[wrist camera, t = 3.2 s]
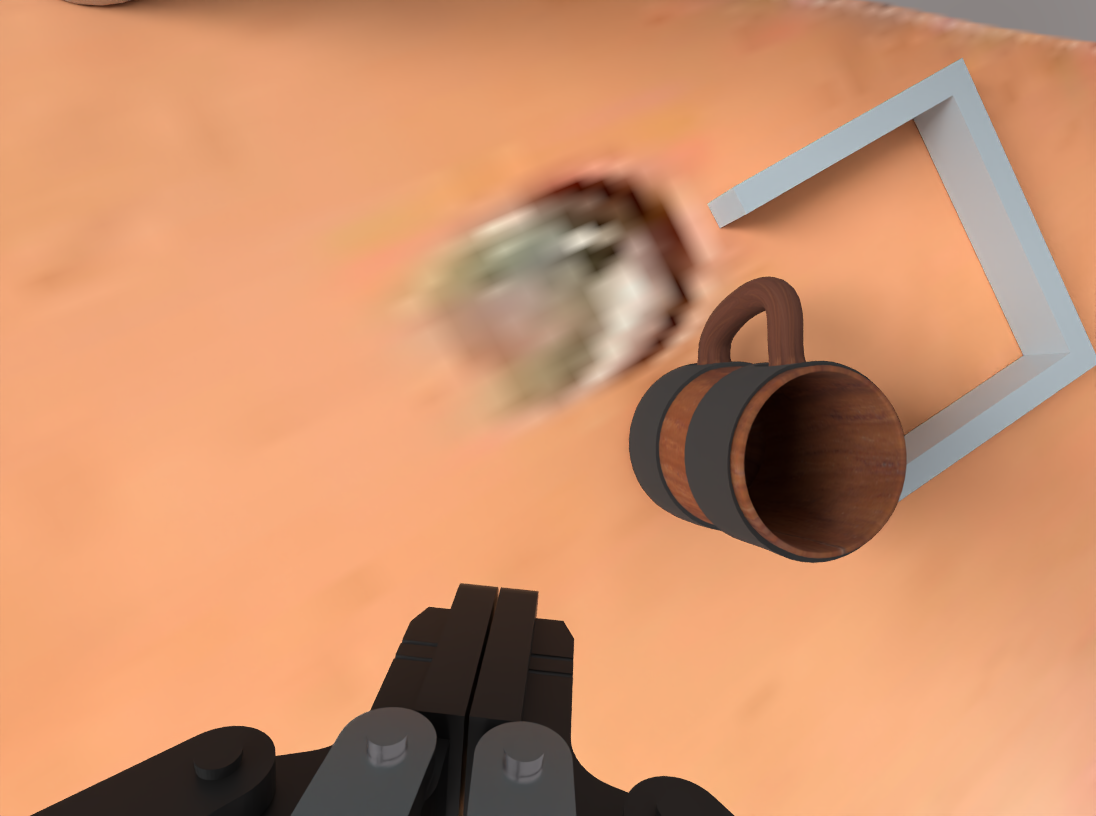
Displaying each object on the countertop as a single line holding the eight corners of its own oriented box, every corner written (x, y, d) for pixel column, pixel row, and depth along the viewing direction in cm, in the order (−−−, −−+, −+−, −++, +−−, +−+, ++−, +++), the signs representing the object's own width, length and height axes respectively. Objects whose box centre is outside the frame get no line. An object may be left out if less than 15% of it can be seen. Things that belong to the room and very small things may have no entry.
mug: (760, 297, 38) (912, 255, 26) (773, 508, 38) (928, 558, 27) (613, 305, 36) (707, 265, 25) (629, 526, 36) (728, 588, 25)
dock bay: (707, 203, 37) (732, 187, 34) (921, 82, 39) (962, 57, 36) (857, 496, 39) (894, 504, 36) (1050, 364, 42) (1099, 362, 39)
